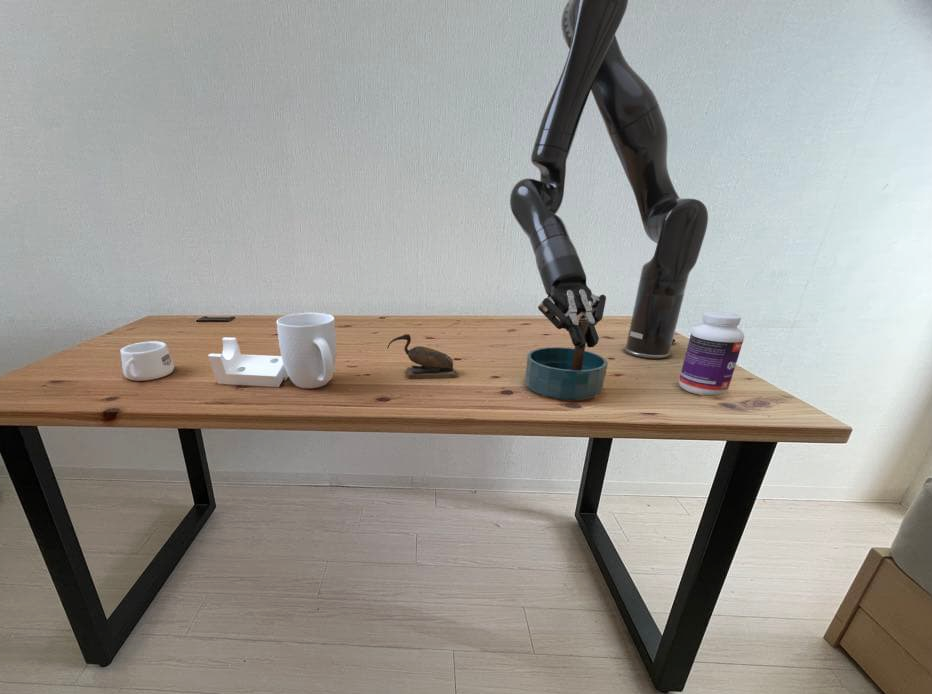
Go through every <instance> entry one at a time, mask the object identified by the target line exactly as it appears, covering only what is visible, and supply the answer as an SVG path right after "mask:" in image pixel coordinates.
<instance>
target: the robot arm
mask: <svg viewBox="0 0 932 694" xmlns="http://www.w3.org/2000/svg"><path fill="white" fill-rule="evenodd" d="M628 4H629V0H567V2H566V4H565V7H564V8H563V11H562V14H561V22H560V23H561V24H560V25H561V33H562V36H563V39H564V42H565V44H566V46H567V47H568V49H569V51H568V54H567V57H566V61H565V64H564V66H563V69H562V72H561V74H560V77H559V79H558V82H557V84H556V86H555V88H554V91H553V93H552V94H551V97H550V99H549V102H548V104H547V106H546V108H545V110H544V113H543V115H542V118H541V121H540V125H539V127H538V131H537V134H536V137H535V141H534V144H533V147H532V150H531V153H530V154H531V155H530V162H531V163H532V165H533V166H534V167H535V168H536V169H538V171H539V175H540V177H539V180H538V179H535V178H529V177H528V178H527V177H526V178H522V179H520V180H519V181H518V182H517V183H515V184H514V186H513V187H512V189H511V192H510V196H509V206H510V211H511V213H512V215H513V217H514V219H515V220H516V222H517V224H518V225H519V226H520V228H521V229H522V231H523V232H524V234H525V235H526V236H527V237H528V239H529V242H530V246H531V248H532V251H533V254H534V257H535V264H536V268H537V270H538V274H539V275H540V279H541V283H542V285H543V288H544V291H545V294H546V295H547V297H545V298H543V300H542V301H541V302H540V304H539V305H538V306H537V309H538V310H539V312H541V313H542V315H543V316H544V317H546V319H547V320H548V321H549V322H551V324H552V325H554V327H555V328H556V329H558V330H562V329H563V330H566V331H567V332H568V334H569V337H570V339H571V340H570V341H571V343H572V345H573V346H574V347H575V346H576V348H577V349H579V348H582V347H583V346H584V345H585V344H586V345H587V348H594V347H595V346H596V345H598V343H599V340H600V337H599V335H598V331H597V329H596V327H595V326H596V325H597V324H598V323H599V322H600V321H602V320H603V316H604V313H605V306H606V301H607V296H606V295H605V294H600V295H599V296H598V295H596V294H594V293H593V292H592V290H591V289H590V288H589V287H588V285H587V274H586V272H585V270H584V267H583V265H582V261H581V259H580V256H579V254H578V251H577V248H576V246H575V245H574V243H573V241H572V239H571V237H570V235H569V232H568V229H567V227H566V224H565V222H564V220H563V219H562V218H561V217H560V216H559V215H557V214H558V212H559V211H560V208H561V206H562V203H563V200H564V194H565V185H566V176H567V175H566V174H567V163H568V158H569V156H570V153H571V150H572V146H573V142H574V140H575V138H576V137H575V136H576V135H577V134H576V133H577V131H578V128H579V124H580V121H581V118H582V116H583V113H584V110H585V106H586V104H587V102H588V98H589V96H590V94H592V96H593V99H594V101H595V104H596V107H597V109H598V111H599V114H600V116H601V119H602V121H603V124H604V127H605V129H606V132H607V134H608V137H609V139H610V142H611V144H612V146H613V149H614V152H615V153H616V156H617V158H618V160H619V162H620V164H621V167H622V169H623V171H624V174H625V176H626V179H627V180H628V183H629V185H630V188H631V189H632V192H633V194H634V198H635V200H636V205H637V208H638V211H639V215H640V219H641V223H642V226H643V229H644V232H645V234H646V235H647V237H648V239H649V240H651V241H652V242H654V243H655V244H656V247H655V251H654V254H653V257H652V258H651V259H650V260H649V261H647V262H645V263H644V264H643V265H642V268H641V271H640V277H639V282H638V286H637V292H636V296H635V300H634V306H633V311H632V316H631V320H630V325H629V330H628V335H627V339H626V345H625V346H624V352H625V353H627V354H629V355H631V356H635V357H638V358H643V359H655V360H656V359H659V360H661V359H667V358H669V357H670V356H671V350H672V349H671V348H672V346H673V344H674V343H676V338H675V334H676V329H677V325H678V321H679V316H680V313H681V309H682V305H683V302H684V298H685V297H684V296H685V292H686V288H687V285H688V279H689V276H690V273H691V272H692V270H693V269H694V268H695V265H697V262H698V260H699V256H700V252H701V249H702V246H703V243H704V240H705V236H706V233H707V228H708V223H709V211H708V208H707V206H706V204H705V203H703V202H702V201H701V200H699V199H696V198H687V197H686V198H684V197H683V198H681V197H680V196H679V195H678V193H677V191H676V189H675V186H674V184H673V182H672V180H671V177H670V173H669V168H668V150H669V149H668V145H669V143H668V142H669V136H668V135H669V134H668V128H667V123H666V120H665V117H664V114H663V112H662V109H661V107H660V103H659V101H658V99H657V97H656V95H655V92H654V91H653V90H652V89H651V87H650V86H649V85H648V83H646V81H645V80H644V79H643V78H642V77H641V76H640V74H638V73H637V72H636V71H635V70H634V69H633V67H632V66H631V65H630V64H629V63H628V61H627V60H626V58H625V56H624V54H623V52H622V49H621V48H620V47H621V46H620V44H619V41H618V39H617V35H616V33H617V32H618V29H619V27H620V26H621V24H622V21H623V18H624V17H625V14H626V11H627V9H628ZM580 319H586V320H589V327H588V333H587V339H586V340H585V337H584V334H583V331H582V329H581V326H580V325H578V323H579V320H580ZM674 338H675V339H674ZM586 345H585V346H586Z"/></svg>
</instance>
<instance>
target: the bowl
mask: <svg viewBox="0 0 932 694" xmlns="http://www.w3.org/2000/svg"><path fill="white" fill-rule="evenodd" d="M574 348H575V347H574ZM574 348H573V347H562V346H560V347H559V346H550V347H540V348H536V349H532V350H530V351H529V352H528V353H527V355H526V361H525V371H524V385H525V387H527V388H528V389H529V390H531V391H533V392H534V393H537V394H538V395H540V396H543V397H545V398H550V399H554V400H555V399H556V400H560V401H561V400H562V401H582V400H588V399H591V398H592V399H593V398H596V397H598V396H599V395H601V394H602V392H603V390H604V384H605V379H606V375H607V369H608V364H609V363H608V360H607V359H606V358H605V357H604V356H602V355H601V354H598V353H595V352H593V351H590V350H585V351H584V357H583V363H582V369H581V370H571V367H572V360H573V354H574Z"/></svg>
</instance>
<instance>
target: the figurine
mask: <svg viewBox="0 0 932 694" xmlns="http://www.w3.org/2000/svg"><path fill="white" fill-rule="evenodd" d="M411 337H412V336H411V335H410V334H408V333H406V334H403V335H400V336H397V337H395V338H393V339H392V340H390V341H389V343H388V345H387V347H386V348H387V349H389V347H390V345H391V344H392V343H393V342H396V341H399V340H401V341H402V340H404V341H406V344H405V345H404V347H403V349H404V352H405V354H406V356H407V357H408V359H409V360H410V361H411V362H412V363H414V364H417V365H411V366H410V367H409V366H408V367H406V372H407V377H408V379H441V378H442V379H444V378H456V372H455V370H454V360H453V359H452V358H451V356H449V355H448V354H447V353H445V352H442V351H439V350H436V349H433V348H431V347H426V346H420V345H419V346H414V347H412V348H410V349H408V347H409V346H410V344H411V341H412V338H411Z"/></svg>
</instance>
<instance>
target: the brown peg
mask: <svg viewBox="0 0 932 694" xmlns="http://www.w3.org/2000/svg"><path fill="white" fill-rule="evenodd" d="M578 322H579V323H578V325H580V326H581V329H582V331H583V334H584V337H585V340H586V339H587V333H588V327H589V320H586V319H580V320H579V321H578ZM586 345H587V343H586V344H585V345H584V346H583V347H582V348H579V349H577V348H576V346H574V354H573V360H572V367H571V370H581V369H582V363H583V357H584V351H586Z"/></svg>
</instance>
